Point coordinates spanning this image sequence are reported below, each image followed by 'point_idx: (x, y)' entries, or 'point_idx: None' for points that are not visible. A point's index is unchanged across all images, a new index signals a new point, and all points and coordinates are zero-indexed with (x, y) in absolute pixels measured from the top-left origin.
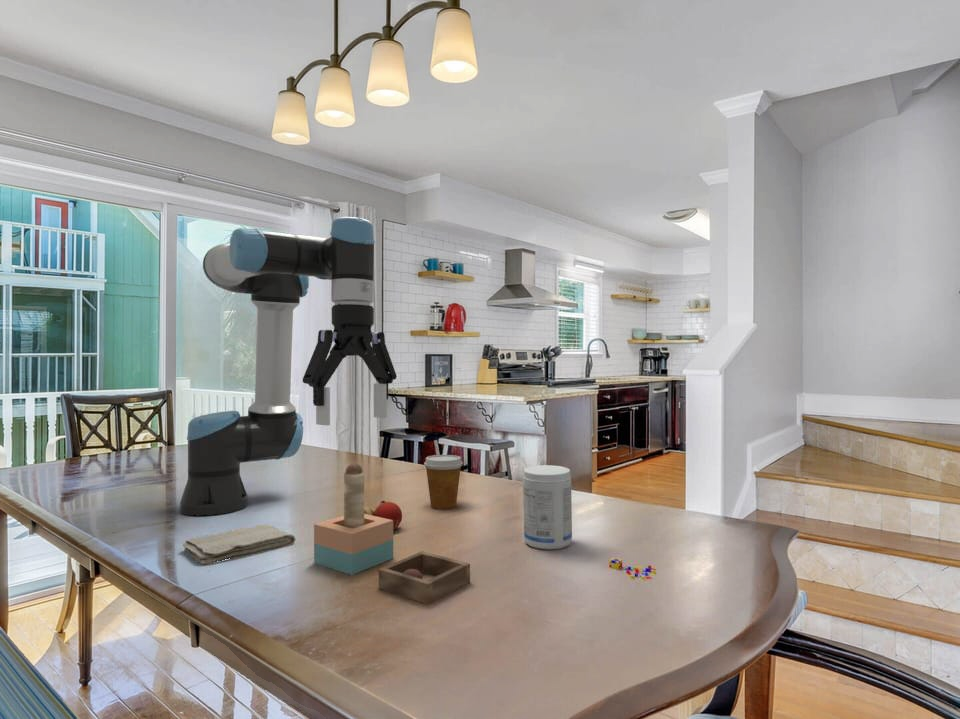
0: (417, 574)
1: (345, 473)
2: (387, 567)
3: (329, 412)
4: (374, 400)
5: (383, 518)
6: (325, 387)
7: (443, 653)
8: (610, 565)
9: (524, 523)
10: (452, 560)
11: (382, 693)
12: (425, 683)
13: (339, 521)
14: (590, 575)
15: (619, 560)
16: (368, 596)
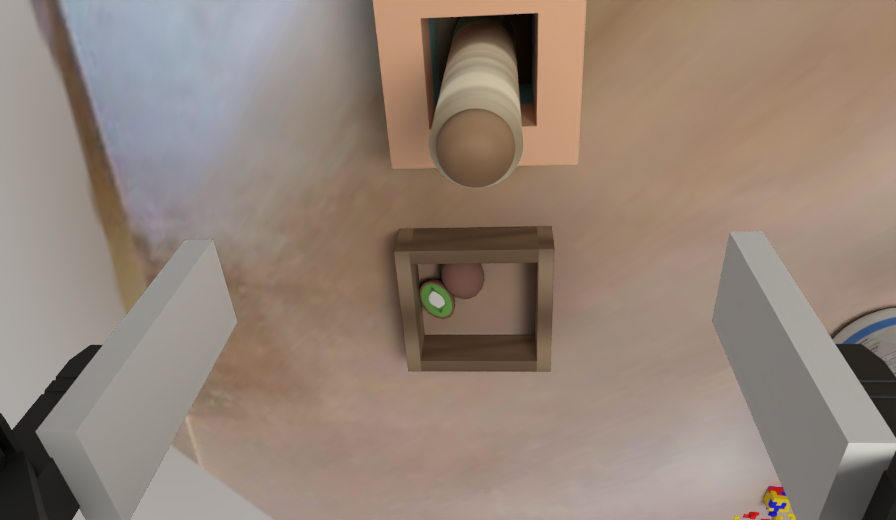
0: (461, 297)
1: (442, 123)
2: (416, 258)
3: (204, 377)
4: (775, 323)
5: (576, 122)
6: (88, 516)
7: (315, 440)
8: (769, 491)
9: (876, 354)
10: (544, 336)
11: (200, 438)
12: (252, 458)
13: (457, 16)
14: (707, 477)
15: (779, 510)
16: (357, 241)
